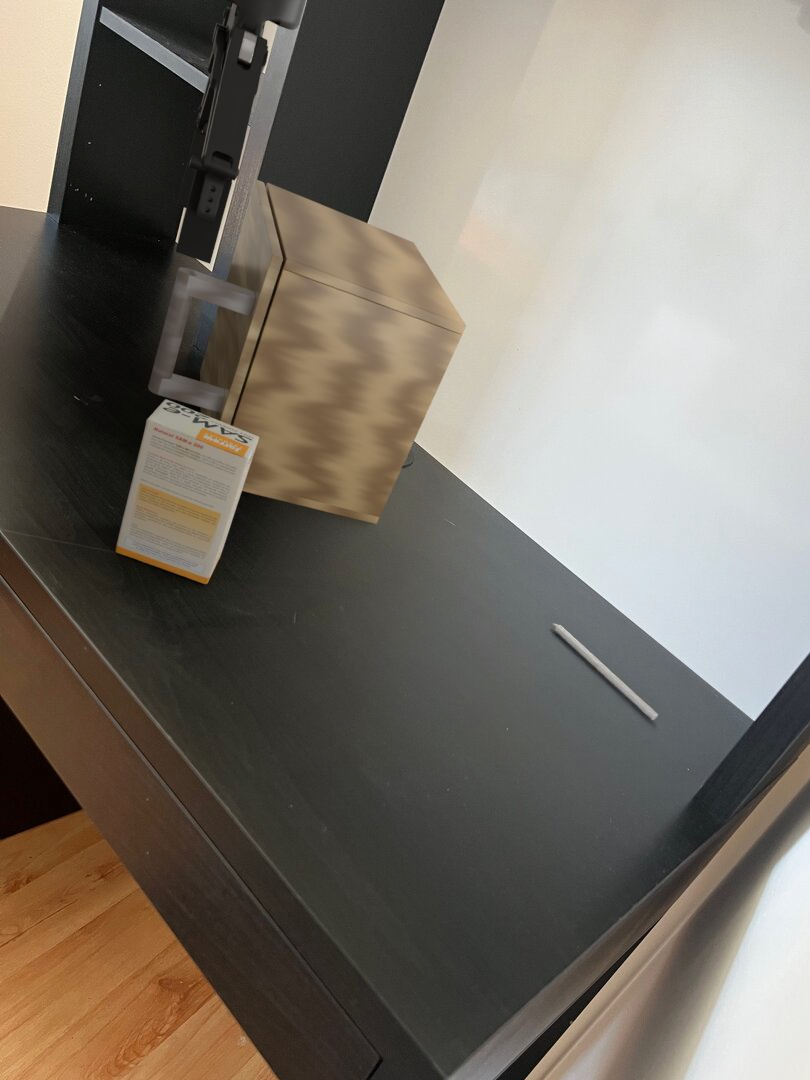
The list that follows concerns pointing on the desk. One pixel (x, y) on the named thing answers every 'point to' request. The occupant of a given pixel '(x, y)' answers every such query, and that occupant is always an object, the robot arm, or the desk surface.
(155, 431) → the supplement box
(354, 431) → the cupboard
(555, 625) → the pencil
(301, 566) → the desk surface
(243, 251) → the cupboard door
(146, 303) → the desk surface
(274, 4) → the robot arm
